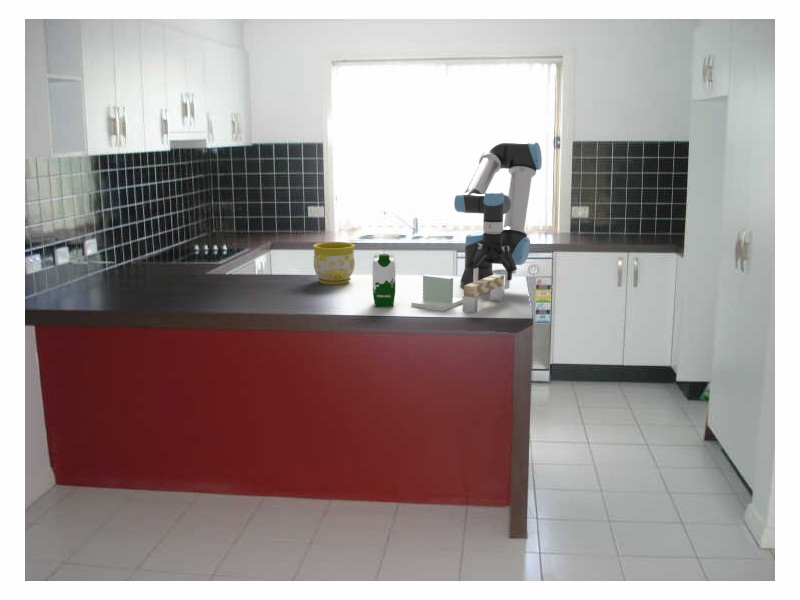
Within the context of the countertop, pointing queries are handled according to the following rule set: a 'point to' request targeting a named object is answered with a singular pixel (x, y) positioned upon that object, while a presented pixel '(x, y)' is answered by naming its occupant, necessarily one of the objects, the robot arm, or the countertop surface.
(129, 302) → the countertop surface
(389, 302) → the milk carton
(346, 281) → the flowerpot
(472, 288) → the batten
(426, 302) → the ridge stand
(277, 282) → the countertop surface
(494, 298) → the posts
